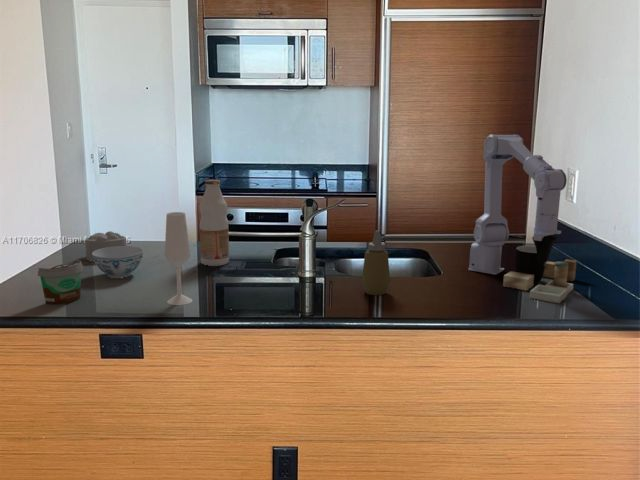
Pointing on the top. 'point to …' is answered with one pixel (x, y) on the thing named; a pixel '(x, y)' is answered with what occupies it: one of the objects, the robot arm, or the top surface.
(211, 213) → the fruit juice
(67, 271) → the food container
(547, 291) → the tray
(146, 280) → the top surface
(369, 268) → the squeeze bottle
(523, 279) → the push block
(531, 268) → the mug
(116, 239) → the lumpy-topped squat cylinder
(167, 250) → the champagne flute
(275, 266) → the top surface
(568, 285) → the collar
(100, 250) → the chinaware
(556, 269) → the dowel
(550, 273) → the bench stop
